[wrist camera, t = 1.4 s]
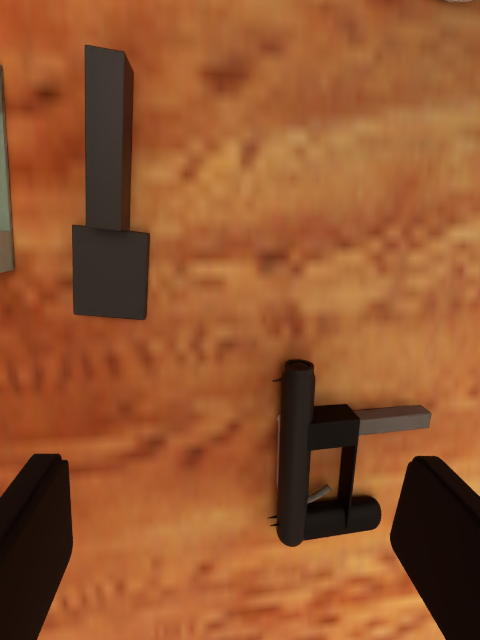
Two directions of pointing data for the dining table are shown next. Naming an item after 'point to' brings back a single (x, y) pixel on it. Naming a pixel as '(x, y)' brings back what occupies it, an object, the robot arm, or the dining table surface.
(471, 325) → the dining table surface
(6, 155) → the spoon rest
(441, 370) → the dining table surface
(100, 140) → the spatula
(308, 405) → the submachine gun
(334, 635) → the dining table surface
